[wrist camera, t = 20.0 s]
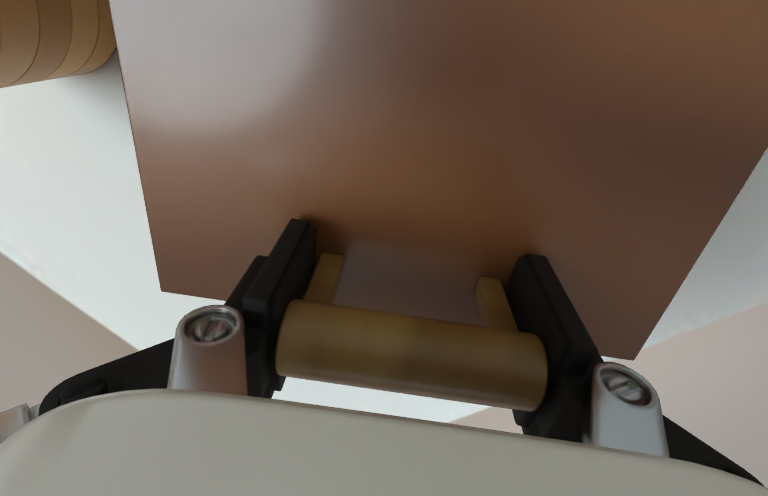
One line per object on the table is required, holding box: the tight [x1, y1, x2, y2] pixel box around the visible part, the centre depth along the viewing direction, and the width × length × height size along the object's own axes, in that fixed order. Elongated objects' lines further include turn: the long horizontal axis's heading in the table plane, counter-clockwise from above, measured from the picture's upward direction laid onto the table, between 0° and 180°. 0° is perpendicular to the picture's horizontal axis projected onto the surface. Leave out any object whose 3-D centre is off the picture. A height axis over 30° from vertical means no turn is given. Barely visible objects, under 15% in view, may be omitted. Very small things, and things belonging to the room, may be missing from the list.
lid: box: [108, 0, 768, 412], centre depth 8 cm, size 16×17×5 cm
